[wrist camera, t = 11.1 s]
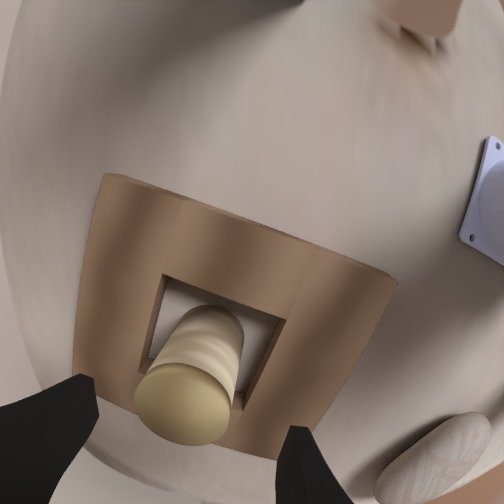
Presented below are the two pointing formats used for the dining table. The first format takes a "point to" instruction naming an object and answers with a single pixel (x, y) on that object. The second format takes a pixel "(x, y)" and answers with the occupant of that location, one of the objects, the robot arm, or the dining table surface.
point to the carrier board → (231, 287)
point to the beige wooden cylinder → (193, 378)
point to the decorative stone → (434, 461)
